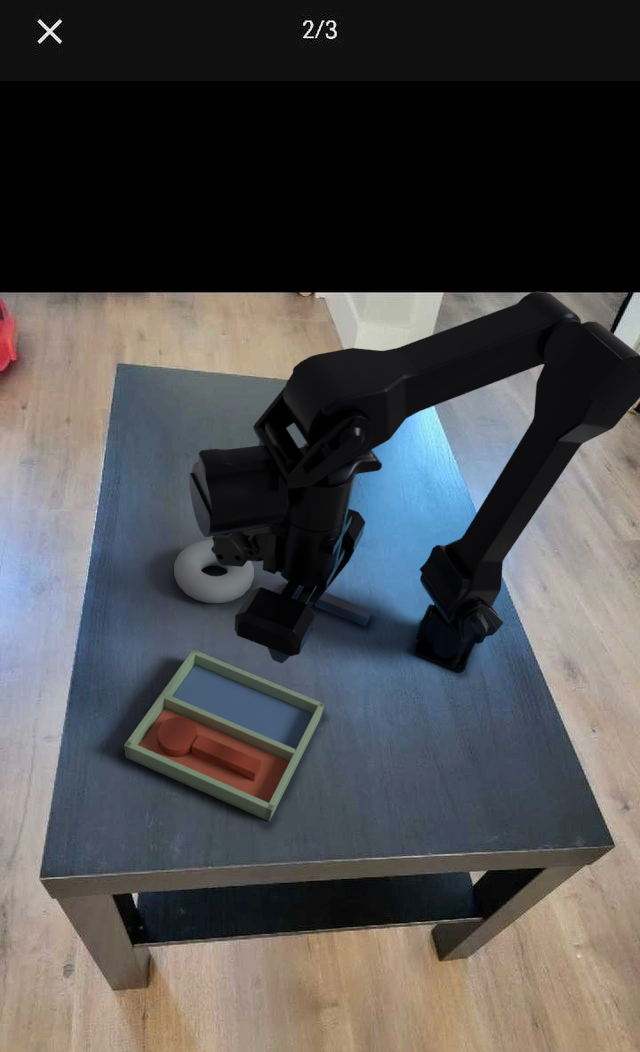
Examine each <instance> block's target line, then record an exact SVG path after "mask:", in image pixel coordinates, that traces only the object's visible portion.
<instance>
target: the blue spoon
mask: <svg viewBox="0 0 640 1052" xmlns="http://www.w3.org/2000/svg"><path fill="white" fill-rule="evenodd" d="M302 588H303V587H302ZM301 591H302V589H301ZM299 594H300V592H299ZM299 594H298V596H299ZM298 596H297V597H298ZM296 599H297V598H296ZM296 599H295V600H296ZM307 604H308V606H309V607H310V608H312V607H315V608H317V609H320V610H323V611H325V612H328V613H330V614H333V615H335V616H337V617H341V618H343V619H345V620H348V621H351V622H353V623H356V624H358V625H361V626H363V627H366V626H367V624H368V623H369V621H370V618H371V615H372V609H369V608H367V607H364V606H362V605H359V604H358V603H354V602H352V601H349V600H347V599H344V598H341V597H338V596H336V595H334V594H331V593H329V592H327V591H325V592H324V593H323V595H322V596H321V597H320V598H319V599H318V601H317V602H316V603H312V602H310V601H308V603H307Z"/></svg>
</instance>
